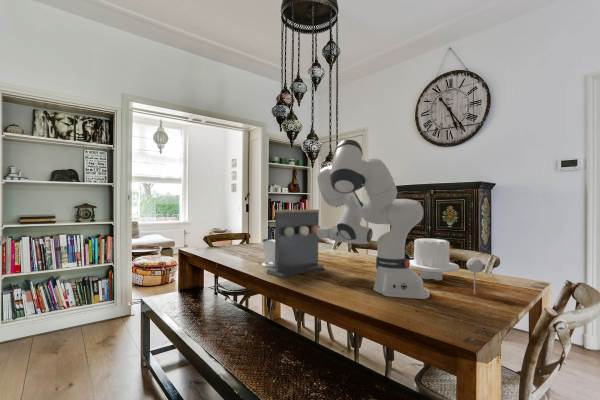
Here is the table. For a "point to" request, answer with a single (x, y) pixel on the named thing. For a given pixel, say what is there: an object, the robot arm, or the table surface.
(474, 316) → the table surface
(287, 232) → the sage button
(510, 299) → the table surface
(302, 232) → the cream button
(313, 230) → the terracotta button
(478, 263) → the lollipop
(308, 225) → the button panel
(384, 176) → the robot arm
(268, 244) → the metal pitcher
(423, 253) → the white brimmed cylinder
